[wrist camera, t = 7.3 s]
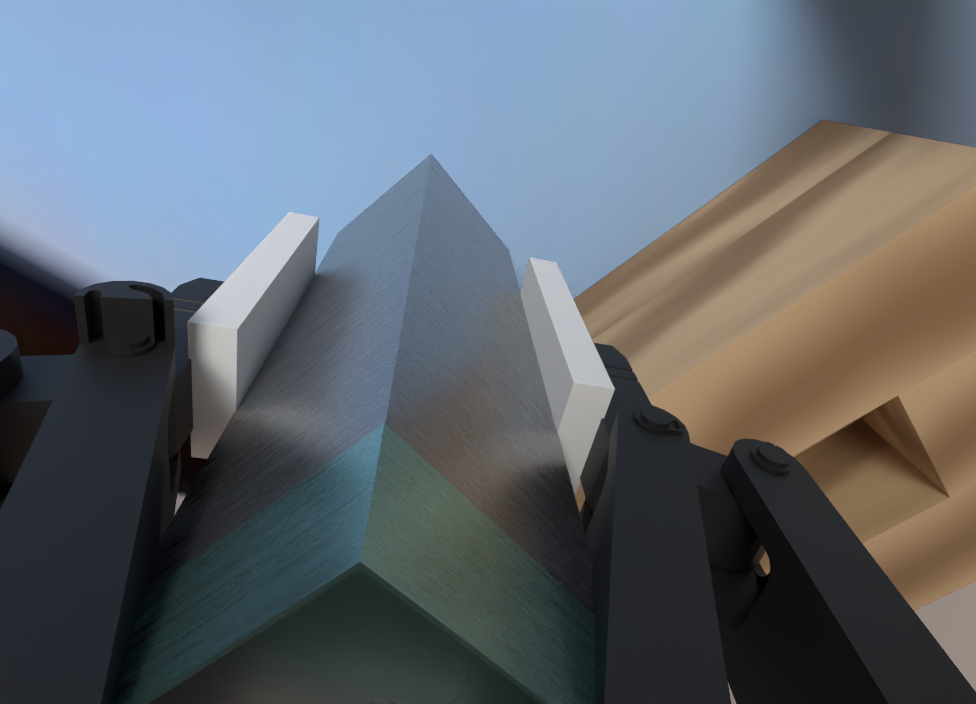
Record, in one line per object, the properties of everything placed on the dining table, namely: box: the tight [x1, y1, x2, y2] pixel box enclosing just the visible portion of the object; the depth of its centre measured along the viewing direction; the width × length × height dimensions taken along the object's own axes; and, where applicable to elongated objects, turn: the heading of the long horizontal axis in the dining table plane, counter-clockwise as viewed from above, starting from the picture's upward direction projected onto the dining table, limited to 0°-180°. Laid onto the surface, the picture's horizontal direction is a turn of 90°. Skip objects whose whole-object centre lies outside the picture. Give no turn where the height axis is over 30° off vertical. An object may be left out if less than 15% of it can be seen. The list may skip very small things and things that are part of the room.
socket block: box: [573, 120, 976, 611], centre depth 24 cm, size 16×16×9 cm
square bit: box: [113, 154, 596, 704], centre depth 12 cm, size 4×4×16 cm
